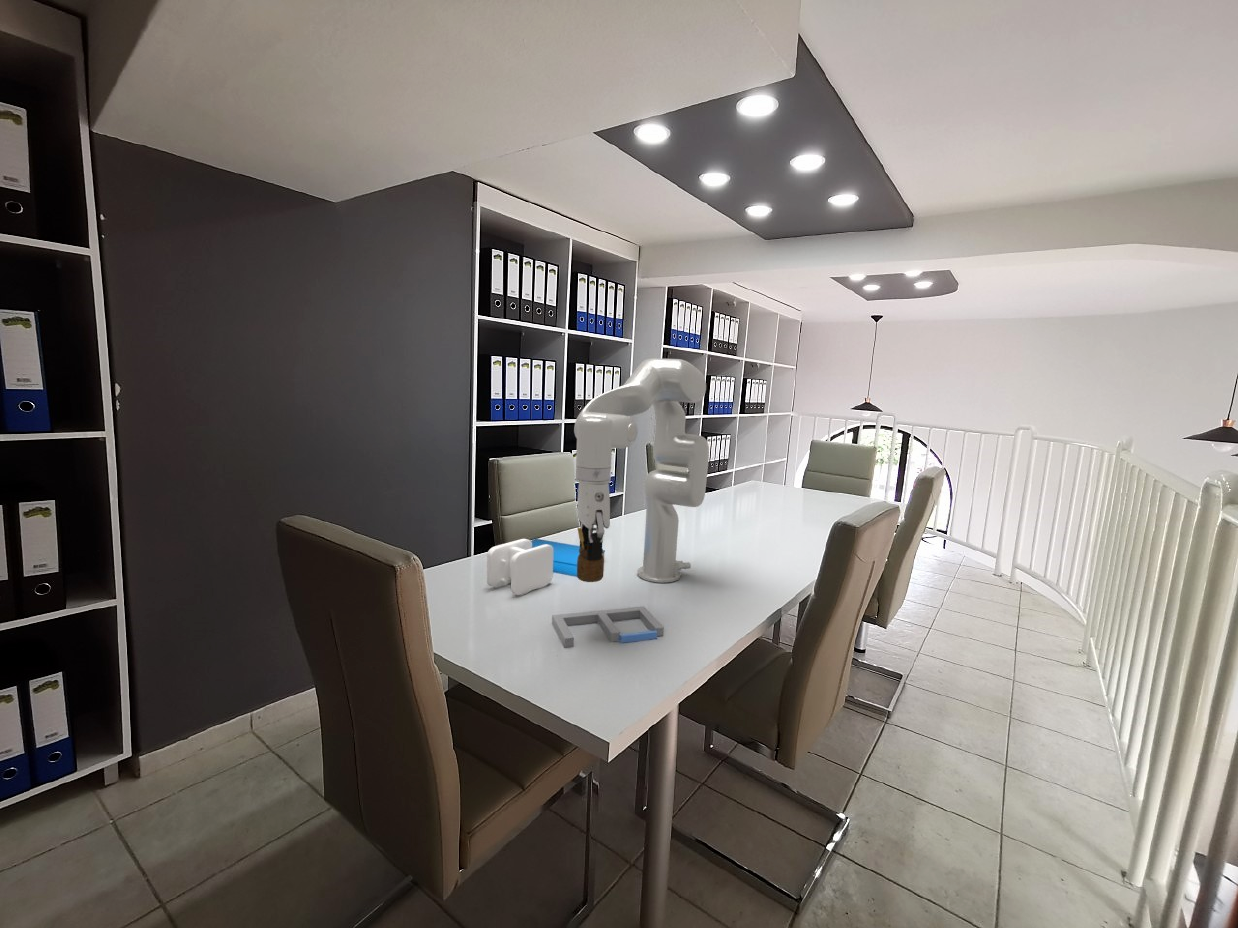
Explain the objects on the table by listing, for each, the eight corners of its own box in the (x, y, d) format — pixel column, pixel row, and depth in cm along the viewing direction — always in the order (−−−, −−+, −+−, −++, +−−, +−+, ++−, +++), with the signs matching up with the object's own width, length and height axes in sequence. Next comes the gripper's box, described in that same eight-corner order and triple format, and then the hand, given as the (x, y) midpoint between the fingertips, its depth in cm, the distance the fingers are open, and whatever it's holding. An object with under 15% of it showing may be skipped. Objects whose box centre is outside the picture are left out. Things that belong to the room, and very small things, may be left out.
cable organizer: (512, 600, 141) (513, 556, 140) (485, 589, 148) (485, 547, 146) (553, 584, 153) (554, 543, 152) (526, 574, 160) (527, 535, 158)
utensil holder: (608, 579, 123) (610, 527, 121) (584, 585, 119) (586, 531, 117) (594, 571, 128) (596, 520, 125) (570, 576, 124) (572, 524, 122)
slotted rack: (643, 613, 137) (644, 606, 137) (665, 637, 125) (665, 629, 125) (552, 623, 129) (552, 615, 129) (565, 649, 117) (565, 640, 117)
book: (535, 538, 183) (605, 548, 175) (534, 551, 184) (604, 562, 175) (507, 552, 167) (583, 564, 159) (507, 566, 168) (582, 579, 159)
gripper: (623, 481, 113) (619, 567, 116) (598, 466, 129) (595, 542, 132) (587, 482, 110) (584, 569, 113) (566, 467, 126) (564, 544, 129)
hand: (590, 554), depth 122 cm, fingers closed on utensil holder, 5 cm apart
